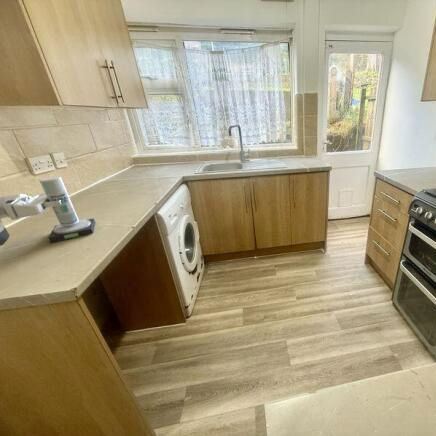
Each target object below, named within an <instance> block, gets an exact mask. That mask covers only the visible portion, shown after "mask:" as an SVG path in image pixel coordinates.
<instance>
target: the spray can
mask: <svg viewBox="0 0 436 436" xmlns="http://www.w3.org/2000/svg"><path fill="white" fill-rule="evenodd" d="M39 183H40V185H41V187H42V189H43V191H44V192H43V193H45V194H46V196H47V198H48V200H49V202H52V201H56V200H61V202H62V204H61V205H58V206H53V207H51V208H52V210H53V212H54V214H55V217H56V218H57V220H58V223H59V225H61V226H70V225H74V224H76V223H78V222H79V220H80V219H79V217H78V215H77V213H76V210H75V207H74V205H73V202H72V201H71V198H70V196H69V194H68V191H67V189H66V186H65V184H64V181H63V179H62V177H61V176H49V177H45V178H40V179H39Z"/></svg>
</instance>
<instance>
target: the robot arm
mask: <svg viewBox="0 0 436 436" xmlns="http://www.w3.org/2000/svg"><path fill="white" fill-rule="evenodd" d="M61 204H62V202H61V200H56V201H52V202H49V200H48V198H47V196H46V194H45V192H42V193H38V194H37V193H36V194H34V195H32V196H29V195H27V194H25V193H17V194H7V195H3V196H0V247H1V246H4V245H5V244H6V243H7V241H8V240H9V238H10V236H11V235H10V232H9V231H8V230H7V228H6V227H5V225H4V224H3V221H2V219H4V218H5V219H6V218H10V220H11V221H17V220H19V219H21V218H28V217H31V216H36V215H40V214H42V213H44V212H45V211H46V210H47V209H49V208H52V207H53V206H58V205H61Z"/></svg>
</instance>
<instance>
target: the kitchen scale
mask: <svg viewBox="0 0 436 436" xmlns="http://www.w3.org/2000/svg"><path fill="white" fill-rule="evenodd" d="M95 226H96V220H95V218H89V219H79V222H78V223H76V224H74V225H70V226H61V225H60V224H56V225H54V227H53V229H52V230H51V232H50V233H49V235H48V237H47V239H48V241H49V243H50V244H53V243H58V242H61V241H67V240H71V239H75V238H80V236H81V237H84V235H85V236H89V235H93V234H94V231H95ZM92 233H93V234H92ZM88 234H89V235H88Z"/></svg>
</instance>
